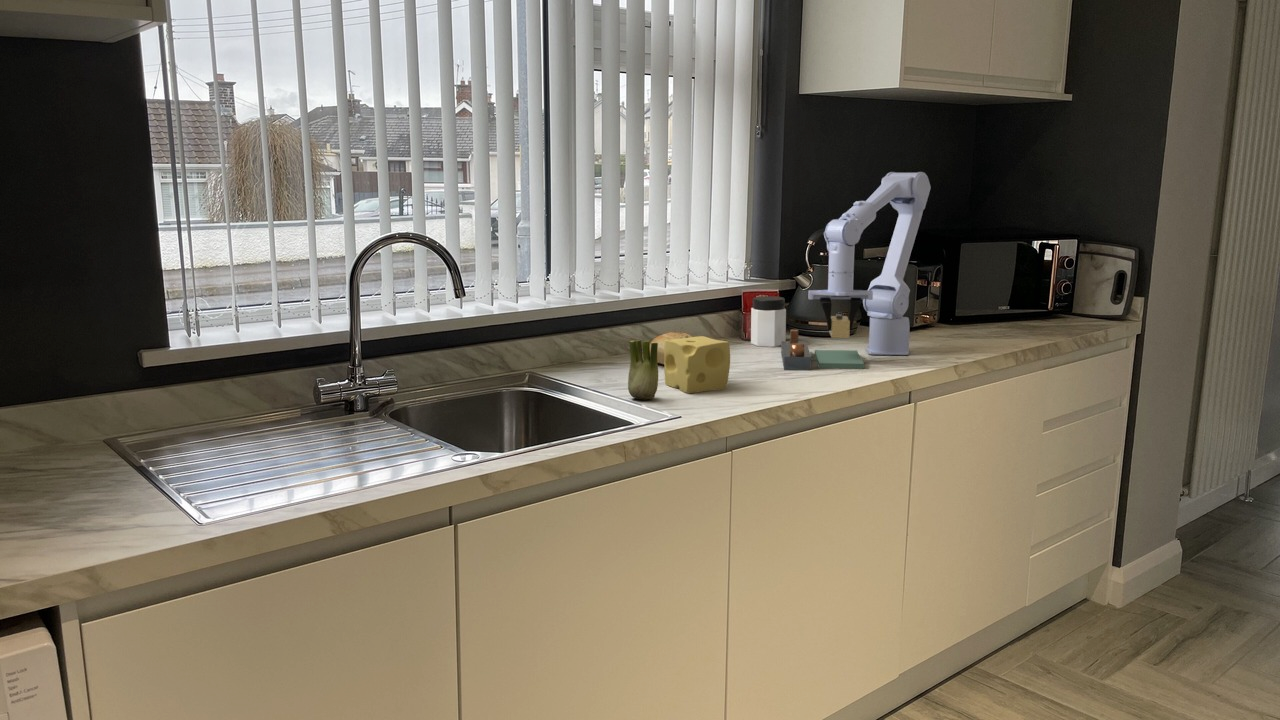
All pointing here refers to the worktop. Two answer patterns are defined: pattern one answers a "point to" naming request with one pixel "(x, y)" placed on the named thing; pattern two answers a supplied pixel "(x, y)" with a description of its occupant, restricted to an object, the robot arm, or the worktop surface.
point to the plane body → (795, 353)
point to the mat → (839, 359)
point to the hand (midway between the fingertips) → (839, 330)
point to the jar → (768, 321)
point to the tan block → (840, 326)
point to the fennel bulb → (643, 370)
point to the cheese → (696, 364)
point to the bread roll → (661, 343)
